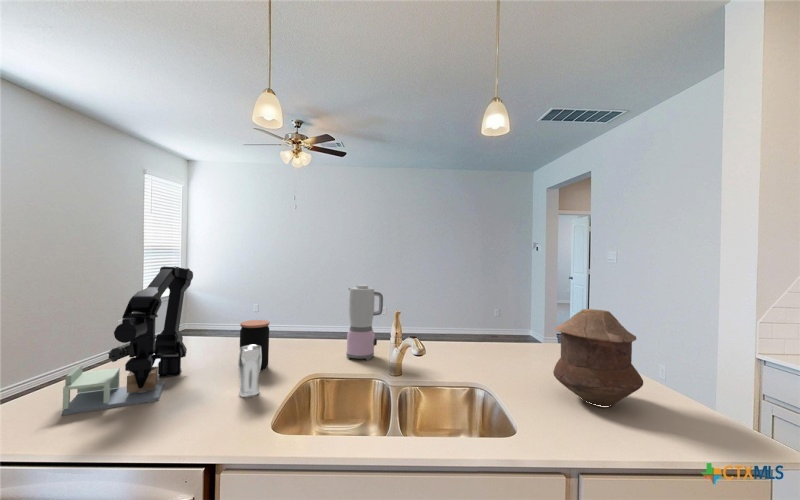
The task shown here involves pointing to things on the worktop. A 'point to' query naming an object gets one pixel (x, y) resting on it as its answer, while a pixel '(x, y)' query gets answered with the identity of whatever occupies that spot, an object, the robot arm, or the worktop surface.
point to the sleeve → (149, 383)
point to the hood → (90, 382)
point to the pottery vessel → (597, 358)
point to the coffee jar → (256, 337)
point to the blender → (362, 322)
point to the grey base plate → (111, 399)
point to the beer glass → (249, 369)
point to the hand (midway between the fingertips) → (142, 383)
